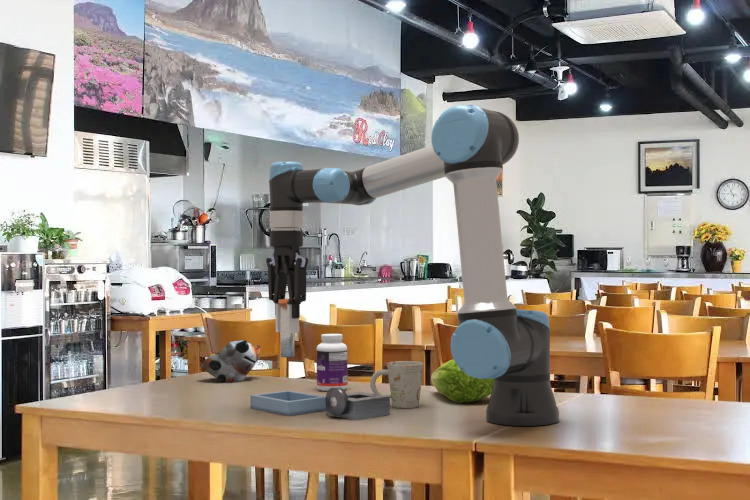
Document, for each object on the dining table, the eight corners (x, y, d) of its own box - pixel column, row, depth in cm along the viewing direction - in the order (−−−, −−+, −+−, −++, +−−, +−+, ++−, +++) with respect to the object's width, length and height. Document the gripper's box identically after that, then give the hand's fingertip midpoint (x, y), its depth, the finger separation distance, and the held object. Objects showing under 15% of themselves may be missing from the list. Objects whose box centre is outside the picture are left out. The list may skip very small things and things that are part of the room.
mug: (420, 409, 223) (420, 365, 223) (366, 408, 226) (365, 364, 226) (426, 403, 232) (425, 361, 232) (373, 402, 234) (373, 360, 234)
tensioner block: (390, 414, 217) (389, 385, 217) (347, 421, 209) (347, 390, 209) (361, 409, 224) (360, 380, 224) (319, 415, 217) (318, 385, 217)
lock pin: (299, 356, 226) (299, 298, 226) (285, 358, 223) (285, 299, 223) (289, 355, 229) (289, 298, 229) (275, 356, 227) (274, 299, 227)
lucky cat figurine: (228, 375, 289) (251, 333, 289) (252, 395, 282) (275, 352, 281) (191, 365, 278) (215, 322, 278) (215, 385, 270) (239, 341, 270)
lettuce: (466, 369, 255) (428, 342, 251) (513, 374, 232) (473, 344, 229) (442, 409, 252) (404, 382, 248) (488, 418, 229) (447, 389, 226)
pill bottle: (313, 388, 260) (312, 333, 260) (343, 387, 262) (342, 332, 262) (321, 392, 252) (320, 336, 252) (351, 391, 254) (350, 335, 254)
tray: (327, 410, 224) (327, 396, 224) (288, 415, 217) (287, 402, 217) (289, 403, 235) (289, 390, 235) (250, 408, 228) (250, 395, 228)
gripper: (322, 229, 222) (323, 333, 222) (278, 230, 235) (279, 329, 235) (294, 229, 217) (295, 335, 217) (252, 230, 230) (253, 331, 230)
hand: (287, 332), depth 226 cm, fingers closed on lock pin, 4 cm apart
